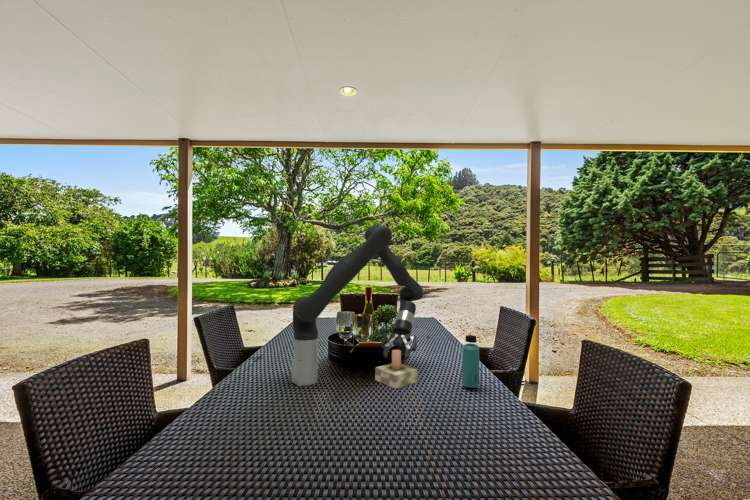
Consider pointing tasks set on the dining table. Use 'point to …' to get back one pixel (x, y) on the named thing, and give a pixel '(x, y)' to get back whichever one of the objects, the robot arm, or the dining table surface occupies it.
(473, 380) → the beverage bottle
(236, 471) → the dining table surface
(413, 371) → the socket
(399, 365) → the peg
